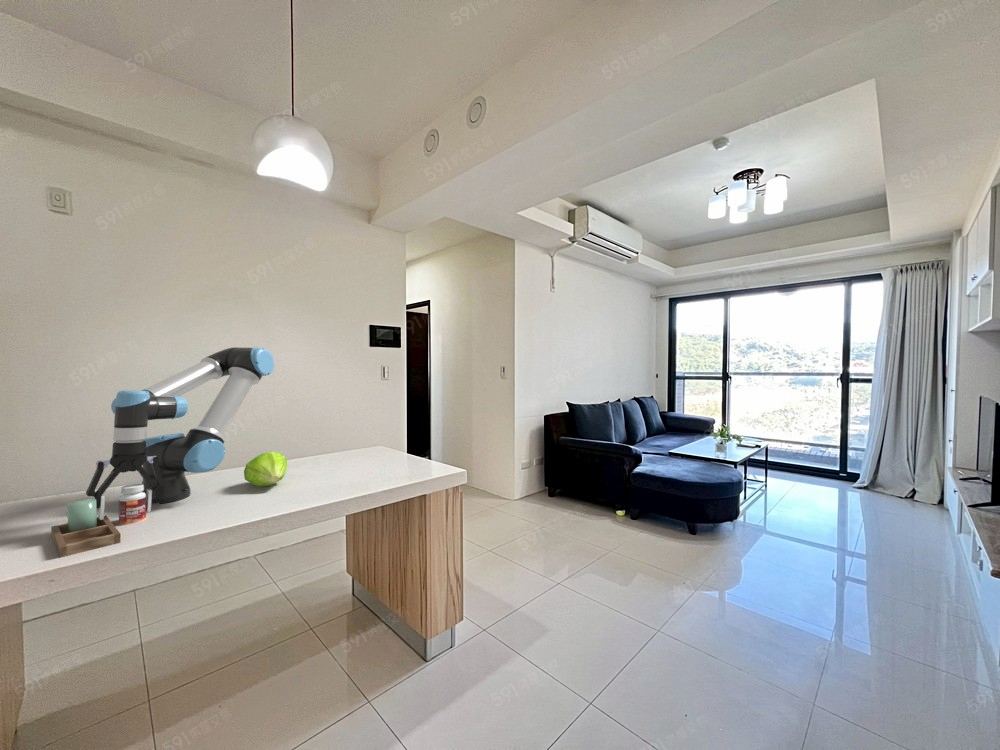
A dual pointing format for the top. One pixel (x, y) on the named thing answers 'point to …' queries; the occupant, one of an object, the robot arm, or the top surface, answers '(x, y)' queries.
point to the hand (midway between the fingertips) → (125, 514)
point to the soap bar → (82, 515)
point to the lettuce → (266, 469)
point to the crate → (84, 537)
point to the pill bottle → (132, 504)
